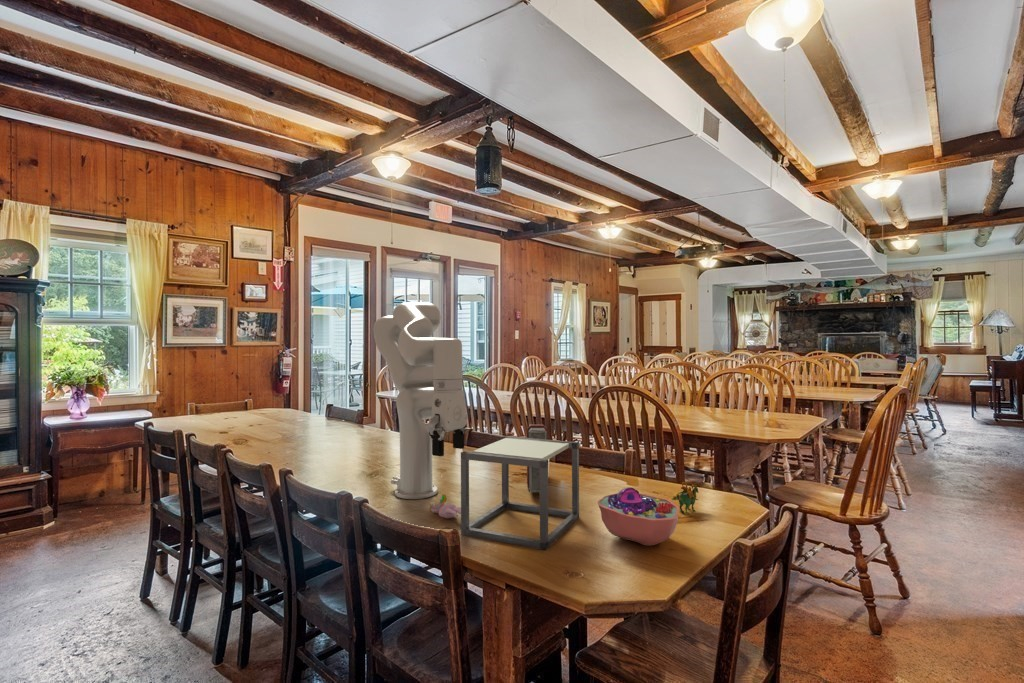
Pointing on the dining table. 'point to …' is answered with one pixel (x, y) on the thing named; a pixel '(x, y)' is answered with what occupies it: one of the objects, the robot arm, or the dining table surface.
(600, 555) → the dining table surface
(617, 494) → the cell model
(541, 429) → the decorative stone tablet
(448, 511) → the rabbit figure
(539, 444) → the trapdoor plate
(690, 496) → the figurine
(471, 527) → the frame
